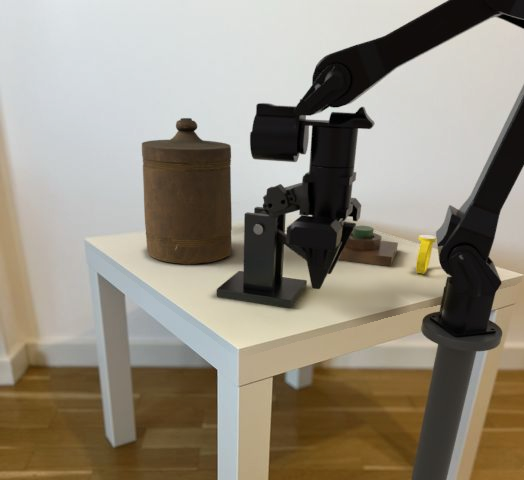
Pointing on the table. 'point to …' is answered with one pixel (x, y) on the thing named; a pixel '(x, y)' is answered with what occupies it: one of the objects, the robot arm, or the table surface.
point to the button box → (369, 251)
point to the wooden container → (187, 197)
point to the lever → (282, 238)
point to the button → (363, 232)
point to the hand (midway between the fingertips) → (321, 280)
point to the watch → (424, 252)
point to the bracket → (263, 265)
